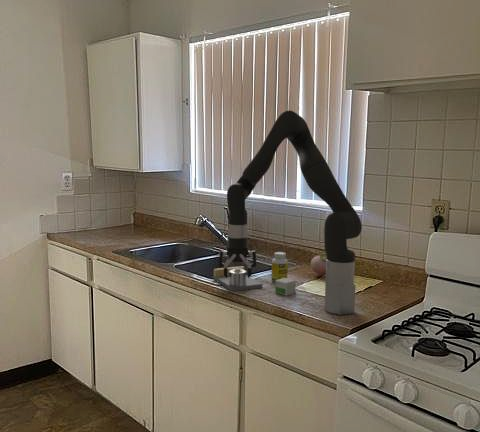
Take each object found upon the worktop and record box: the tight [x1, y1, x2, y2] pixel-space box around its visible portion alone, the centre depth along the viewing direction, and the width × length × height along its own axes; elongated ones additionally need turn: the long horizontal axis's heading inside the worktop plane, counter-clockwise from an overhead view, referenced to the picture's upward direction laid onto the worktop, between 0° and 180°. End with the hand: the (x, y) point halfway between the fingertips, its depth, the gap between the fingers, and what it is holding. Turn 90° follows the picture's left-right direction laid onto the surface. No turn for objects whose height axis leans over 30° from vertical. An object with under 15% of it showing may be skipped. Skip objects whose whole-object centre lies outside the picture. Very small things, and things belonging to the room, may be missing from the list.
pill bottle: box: [271, 251, 289, 283], centre depth 200 cm, size 6×6×12 cm
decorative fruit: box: [310, 253, 327, 277], centre depth 209 cm, size 9×8×10 cm
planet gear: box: [229, 269, 247, 286], centre depth 190 cm, size 6×6×5 cm
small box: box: [274, 277, 297, 296], centre depth 185 cm, size 6×6×5 cm
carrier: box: [213, 265, 263, 292], centre depth 196 cm, size 18×13×8 cm
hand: (237, 277), depth 189 cm, fingers open, 8 cm apart
